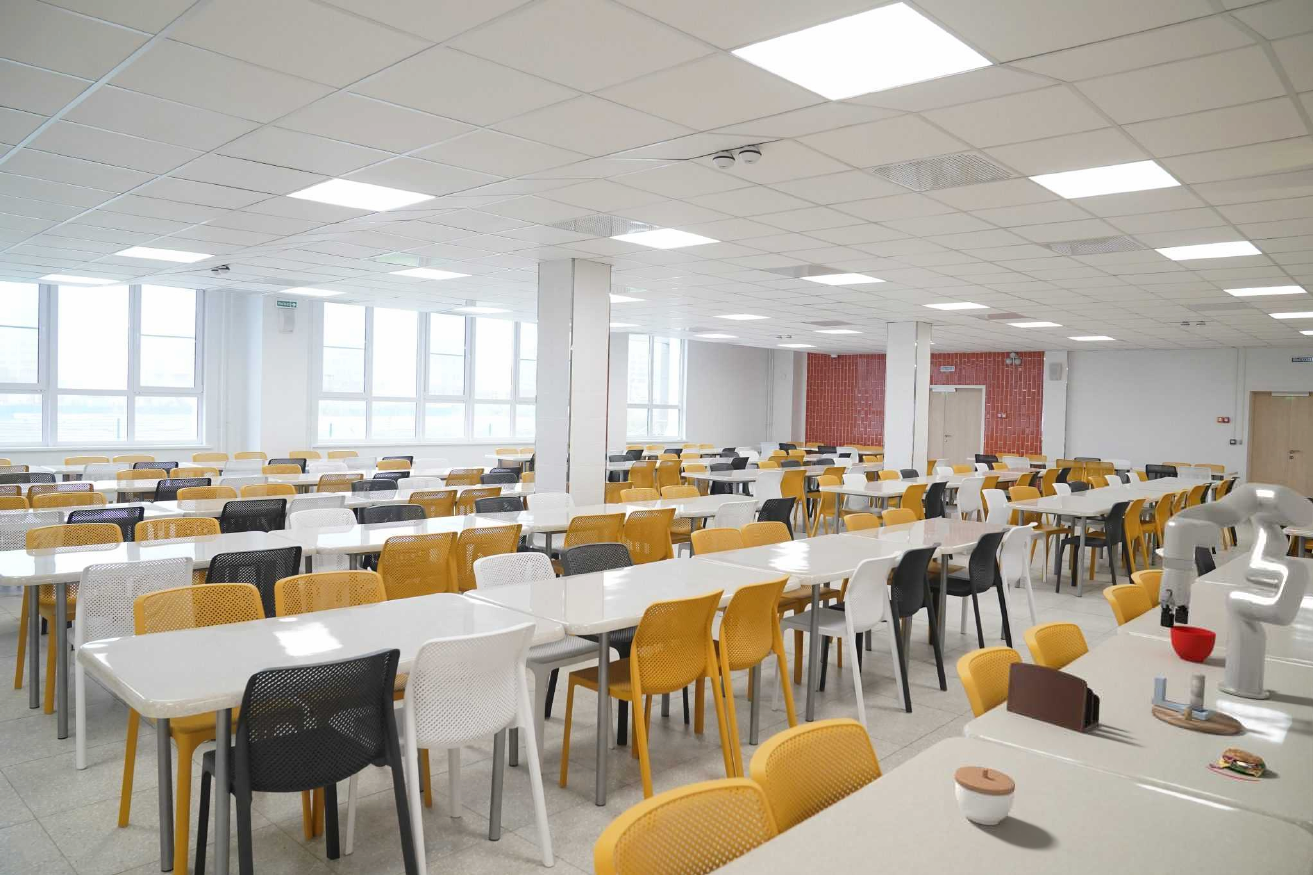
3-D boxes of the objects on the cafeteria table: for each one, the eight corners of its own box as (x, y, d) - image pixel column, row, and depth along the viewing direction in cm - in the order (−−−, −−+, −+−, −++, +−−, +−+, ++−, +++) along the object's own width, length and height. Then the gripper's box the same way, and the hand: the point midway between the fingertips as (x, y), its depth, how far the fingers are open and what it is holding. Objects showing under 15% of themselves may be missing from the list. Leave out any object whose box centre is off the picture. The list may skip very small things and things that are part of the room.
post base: (1169, 702, 237) (1172, 659, 237) (1253, 725, 222) (1256, 679, 221) (1139, 715, 225) (1142, 670, 225) (1225, 740, 209) (1228, 691, 209)
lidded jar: (943, 804, 166) (946, 757, 166) (995, 804, 167) (998, 757, 166) (967, 831, 155) (971, 780, 155) (1023, 831, 156) (1026, 781, 156)
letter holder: (1083, 734, 209) (1086, 678, 209) (1005, 711, 224) (1008, 658, 224) (1099, 726, 216) (1102, 671, 215) (1022, 703, 231) (1025, 652, 230)
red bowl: (1213, 656, 291) (1215, 628, 291) (1214, 667, 277) (1216, 637, 277) (1169, 649, 298) (1171, 621, 298) (1168, 660, 284) (1170, 630, 284)
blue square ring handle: (1213, 716, 223) (1214, 688, 222) (1204, 720, 219) (1206, 691, 219) (1157, 701, 233) (1159, 674, 233) (1148, 704, 230) (1150, 677, 229)
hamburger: (1206, 752, 202) (1208, 728, 202) (1278, 772, 192) (1280, 746, 192) (1191, 767, 192) (1193, 741, 192) (1266, 788, 182) (1268, 761, 182)
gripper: (1175, 560, 244) (1171, 619, 244) (1150, 564, 233) (1146, 625, 234) (1205, 564, 238) (1200, 624, 239) (1180, 569, 227) (1176, 631, 228)
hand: (1174, 625), depth 236 cm, fingers open, 9 cm apart
